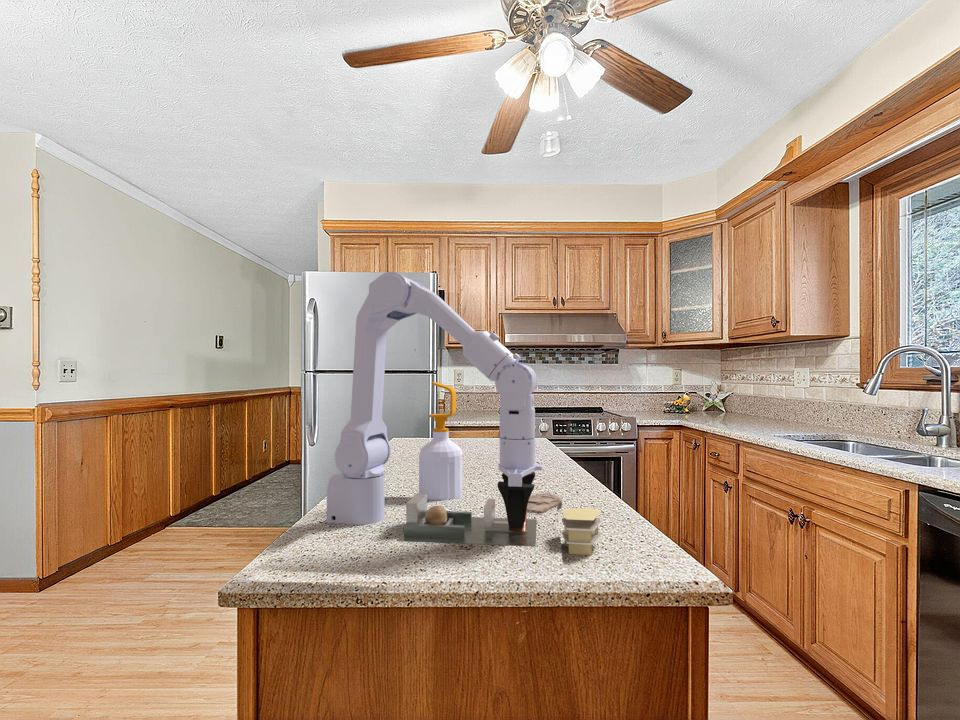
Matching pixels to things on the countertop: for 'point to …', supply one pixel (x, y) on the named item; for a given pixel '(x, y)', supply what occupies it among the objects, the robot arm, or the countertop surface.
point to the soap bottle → (441, 459)
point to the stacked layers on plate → (581, 529)
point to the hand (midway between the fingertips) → (517, 522)
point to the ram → (498, 525)
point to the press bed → (460, 528)
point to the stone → (543, 502)
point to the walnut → (436, 516)
